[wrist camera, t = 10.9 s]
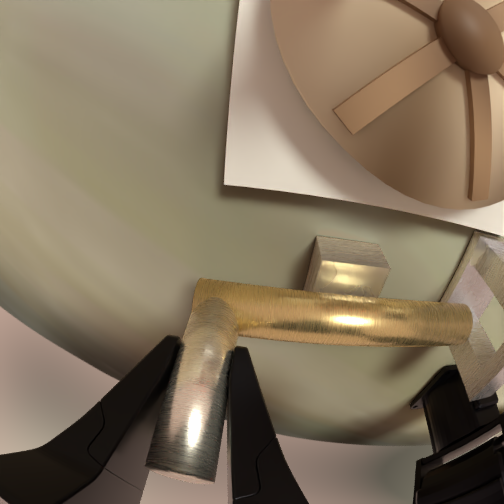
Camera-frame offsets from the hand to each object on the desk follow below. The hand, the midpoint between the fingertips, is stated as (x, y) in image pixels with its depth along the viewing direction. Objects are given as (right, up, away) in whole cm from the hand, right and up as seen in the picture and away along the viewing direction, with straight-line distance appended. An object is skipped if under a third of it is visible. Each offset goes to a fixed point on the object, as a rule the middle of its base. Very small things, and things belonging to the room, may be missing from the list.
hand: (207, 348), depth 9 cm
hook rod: (+5, +1, +2) cm, 6 cm away
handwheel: (+9, +11, -3) cm, 14 cm away
